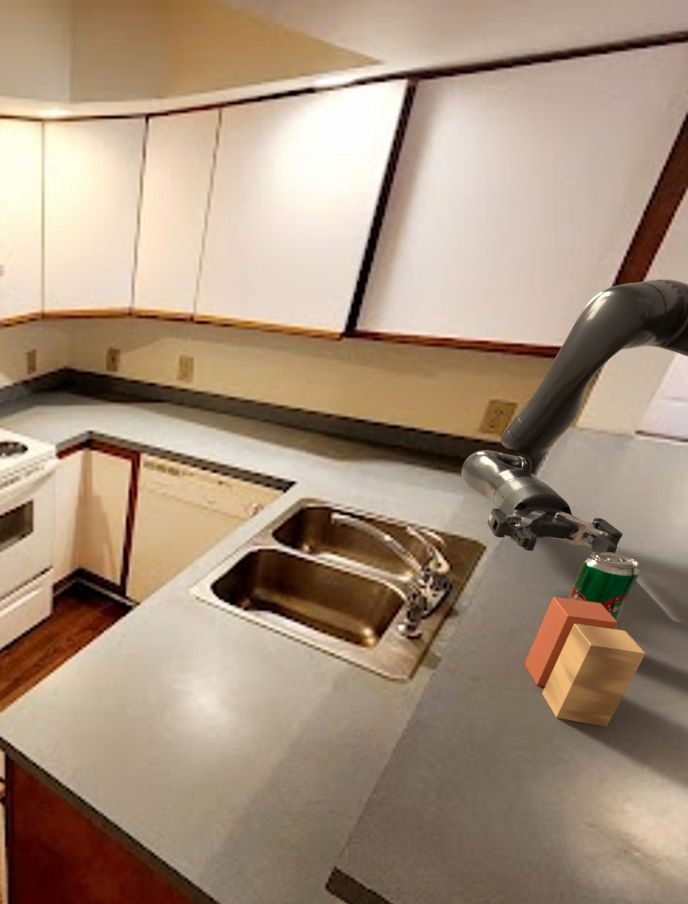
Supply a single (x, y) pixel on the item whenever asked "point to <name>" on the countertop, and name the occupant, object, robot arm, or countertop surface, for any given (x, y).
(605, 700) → the maple block
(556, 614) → the terracotta block
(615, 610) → the soda can
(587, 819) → the countertop surface
